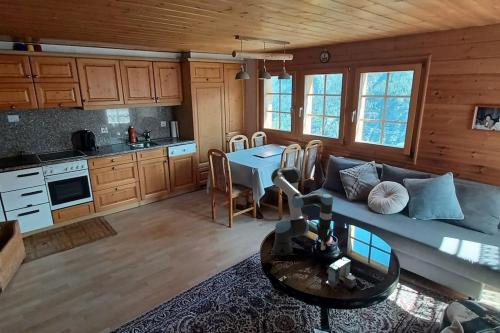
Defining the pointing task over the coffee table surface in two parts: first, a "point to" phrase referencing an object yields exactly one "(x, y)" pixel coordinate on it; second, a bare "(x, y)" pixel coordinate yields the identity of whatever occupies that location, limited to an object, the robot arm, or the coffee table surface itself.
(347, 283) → the yellow handled grey mallet
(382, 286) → the coffee table surface
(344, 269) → the housing
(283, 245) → the robot arm
